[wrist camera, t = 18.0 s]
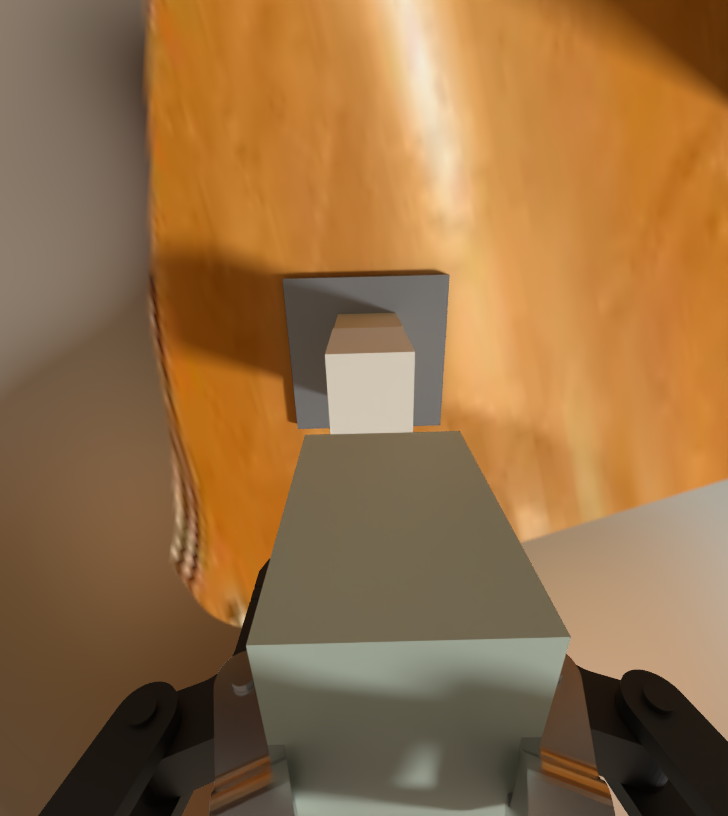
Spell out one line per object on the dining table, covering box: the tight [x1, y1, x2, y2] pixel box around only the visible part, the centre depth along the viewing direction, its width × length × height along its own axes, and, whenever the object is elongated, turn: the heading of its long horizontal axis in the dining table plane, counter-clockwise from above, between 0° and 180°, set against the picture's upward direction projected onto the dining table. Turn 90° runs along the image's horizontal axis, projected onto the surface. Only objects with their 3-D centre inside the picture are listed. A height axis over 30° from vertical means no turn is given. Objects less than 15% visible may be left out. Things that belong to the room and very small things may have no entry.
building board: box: [282, 274, 449, 429], centre depth 32 cm, size 14×14×7 cm
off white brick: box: [325, 327, 415, 434], centre depth 26 cm, size 8×5×7 cm, turn 1°
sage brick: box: [246, 431, 571, 816], centre depth 11 cm, size 8×5×7 cm, turn 1°
